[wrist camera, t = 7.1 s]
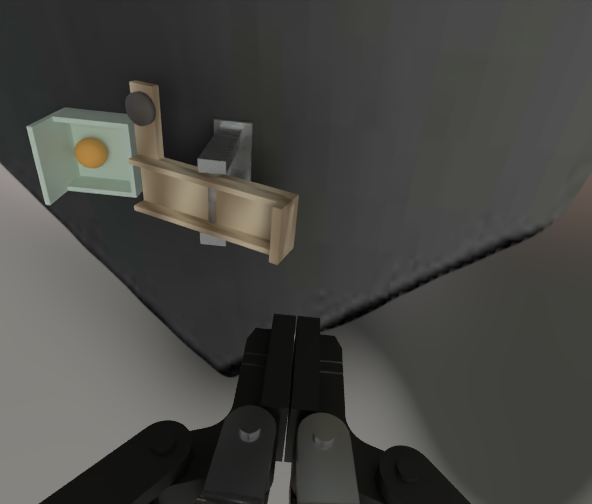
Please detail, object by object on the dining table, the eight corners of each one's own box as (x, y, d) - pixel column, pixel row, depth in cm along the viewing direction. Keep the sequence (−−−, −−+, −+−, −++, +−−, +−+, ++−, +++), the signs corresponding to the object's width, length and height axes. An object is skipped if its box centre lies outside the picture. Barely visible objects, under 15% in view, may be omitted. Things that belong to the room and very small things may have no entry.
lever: (148, 200, 44) (123, 213, 41) (135, 79, 38) (106, 85, 35) (294, 247, 39) (277, 265, 36) (307, 116, 33) (288, 127, 30)
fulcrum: (216, 196, 50) (192, 246, 41) (215, 117, 45) (187, 153, 36) (250, 200, 50) (234, 250, 41) (253, 121, 45) (235, 158, 36)
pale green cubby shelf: (64, 107, 46) (26, 126, 40) (140, 115, 46) (113, 135, 40) (78, 177, 50) (45, 204, 44) (147, 185, 50) (123, 212, 44)
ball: (111, 139, 46) (94, 131, 47) (82, 145, 43) (65, 137, 45) (115, 168, 47) (99, 159, 49) (87, 175, 45) (71, 166, 47)
